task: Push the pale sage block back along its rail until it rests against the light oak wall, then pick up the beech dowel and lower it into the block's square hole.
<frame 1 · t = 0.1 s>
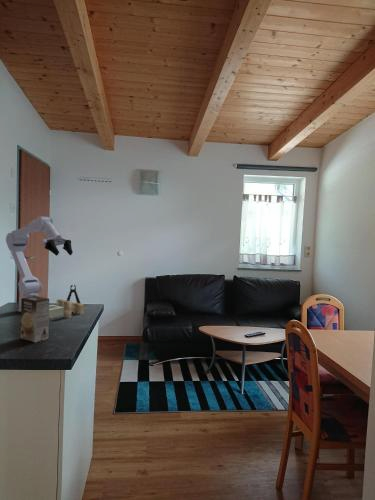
hand: (64, 253, 152), 32 cm above the countertop, tool tilted 50°, fingers open, 7 cm apart
oak wall: (69, 311, 171), on the countertop
dowel: (67, 317, 158), on the countertop
coffee box: (34, 339, 126), on the countertop
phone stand: (72, 306, 184), on the countertop
socket block: (50, 311, 162), point 2 cm above the countertop, slide at 6.0 cm
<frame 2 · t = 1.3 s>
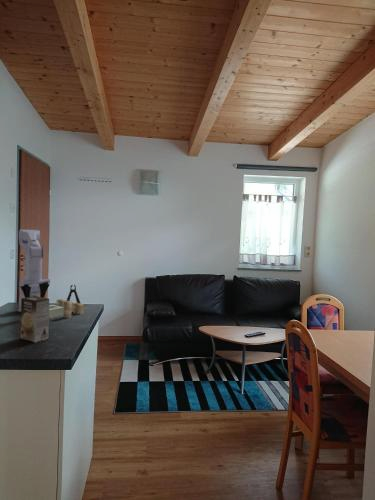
hand: (35, 299, 154), 9 cm above the countertop, tool pointing down, fingers open, 7 cm apart
nothing on the countertop moved.
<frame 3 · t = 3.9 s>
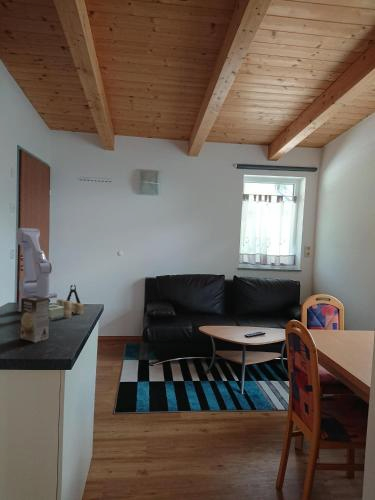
hand: (42, 314, 158), 1 cm above the countertop, tool pointing down, fingers closed
socket block: (52, 310, 162), point 2 cm above the countertop, slide at 5.2 cm, touching gripper
everything else where it was.
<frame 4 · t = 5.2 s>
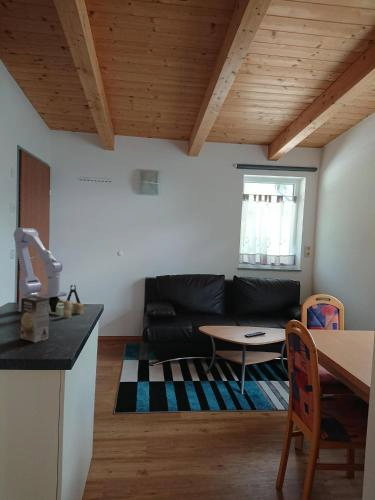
hand: (53, 311, 163), 1 cm above the countertop, tool pointing down, fingers closed
socket block: (61, 309, 167), point 2 cm above the countertop, slide at -0.1 cm, touching gripper
everything else where it was.
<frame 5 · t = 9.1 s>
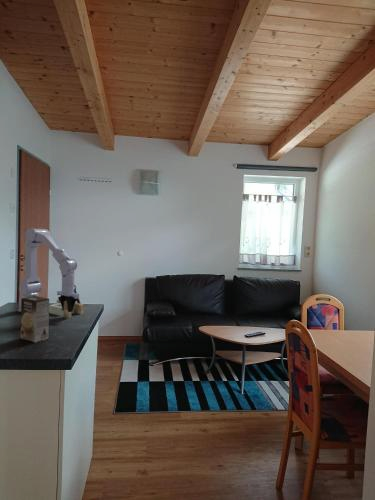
hand: (67, 311, 158), 3 cm above the countertop, tool pointing down, fingers closed on dowel, 4 cm apart
dowel: (67, 317, 158), on the countertop, touching gripper
socket block: (61, 309, 167), point 2 cm above the countertop, slide at 0.0 cm
everything else where it was.
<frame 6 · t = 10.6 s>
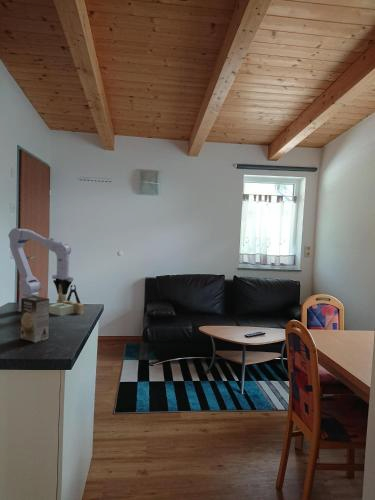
hand: (62, 294, 165), 10 cm above the countertop, tool pointing down, fingers closed on dowel, 4 cm apart
dowel: (62, 300, 165), point 7 cm above the countertop, touching gripper
everything else where it was.
when the fingers open (5 cm above the countertop, at t = 12.4 s): dowel drops 1 cm, resting on socket block.
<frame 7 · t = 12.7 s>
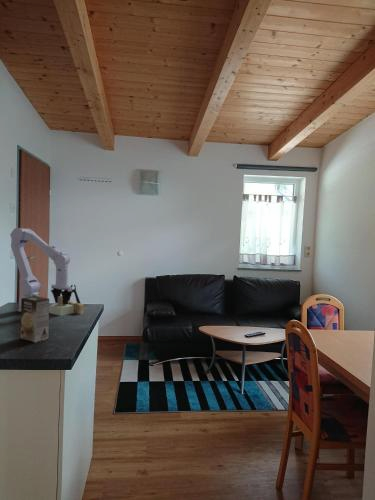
hand: (61, 303, 167), 5 cm above the countertop, tool pointing down, fingers open, 6 cm apart
dowel: (61, 311, 167), point 1 cm above the countertop, touching socket block
socket block: (61, 309, 167), point 2 cm above the countertop, slide at 0.0 cm, touching dowel
everything else where it was.
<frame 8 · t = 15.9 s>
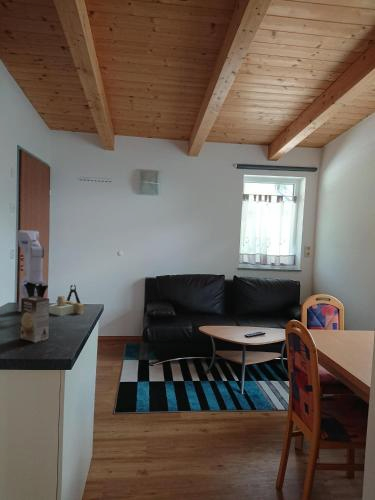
hand: (35, 298, 155), 9 cm above the countertop, tool pointing down, fingers open, 7 cm apart
nothing on the countertop moved.
at the end: socket block slide at 0.0 cm; dowel 0.0 cm off-centre on the socket block, point 0.5 cm above the socket block's base; dowel tilted 0° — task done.
